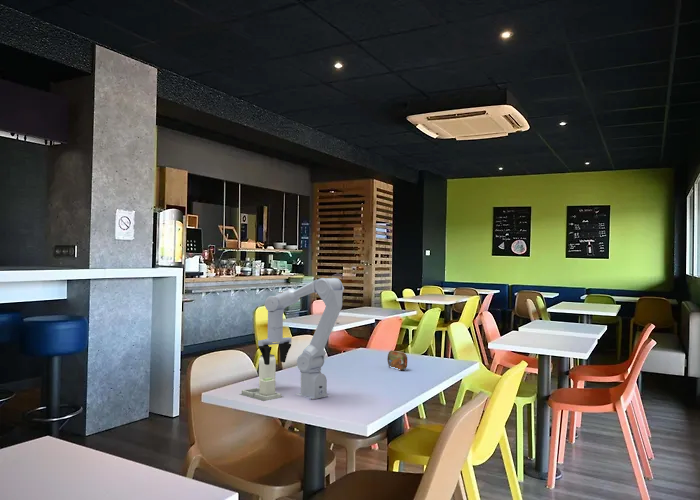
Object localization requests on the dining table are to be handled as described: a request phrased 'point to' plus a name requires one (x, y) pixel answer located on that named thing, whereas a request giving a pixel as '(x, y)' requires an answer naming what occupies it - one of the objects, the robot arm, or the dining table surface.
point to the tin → (397, 359)
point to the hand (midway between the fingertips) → (274, 363)
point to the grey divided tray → (255, 394)
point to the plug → (267, 387)
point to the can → (267, 368)
